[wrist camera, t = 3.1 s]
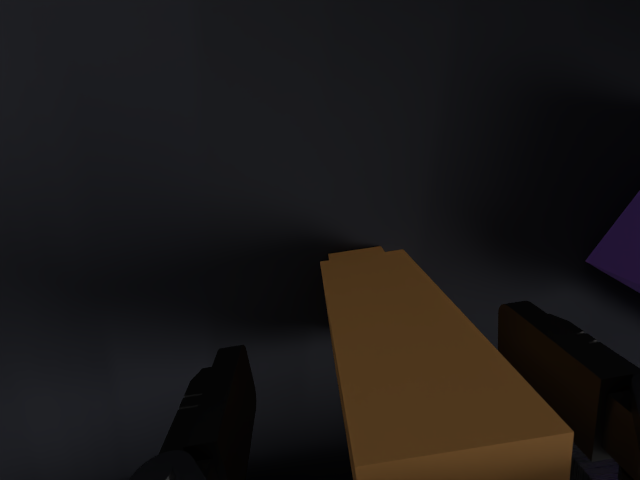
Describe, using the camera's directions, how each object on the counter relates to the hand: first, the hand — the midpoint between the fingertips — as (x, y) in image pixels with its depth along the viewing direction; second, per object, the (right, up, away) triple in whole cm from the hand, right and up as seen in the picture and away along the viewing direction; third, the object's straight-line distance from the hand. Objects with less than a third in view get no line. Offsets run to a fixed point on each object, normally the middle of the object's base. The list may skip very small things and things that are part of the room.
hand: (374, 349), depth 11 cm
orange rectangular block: (0, +1, +4) cm, 4 cm away
